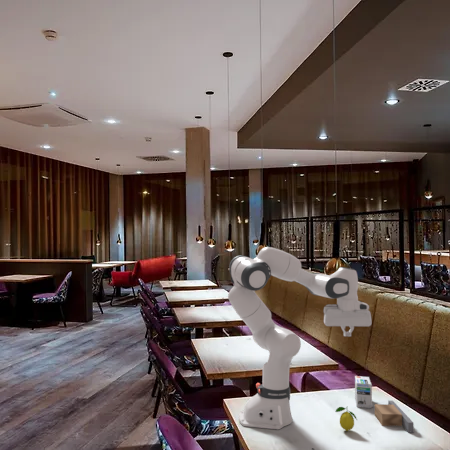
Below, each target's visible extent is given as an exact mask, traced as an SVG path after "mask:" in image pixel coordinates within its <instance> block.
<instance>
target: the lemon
mask: <svg viewBox="0 0 450 450" xmlns="http://www.w3.org/2000/svg"><path fill="white" fill-rule="evenodd" d="M345 410H346V411H345ZM343 411H344V412H343ZM339 412H342V413H341V414H340V418H339V425H340V427H341V428H342V429H343V430H345V432H349V431H351V430H352V429H353V428H354V426H355V419H356V421H358V419H357V416H356V414H355V413H353V411H350V410H347V407H343V406H339V407H337V408H336V409H335V413H339Z"/></svg>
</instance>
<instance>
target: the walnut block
mask: <svg viewBox="0 0 450 450" xmlns="http://www.w3.org/2000/svg"><path fill="white" fill-rule="evenodd" d="M374 417H375V418H376V420H377V421H378V422H379V423H380V425H381V426H382V427H403V426H402V414H401V413H400V412H399V410H398V409H397V408H396V407H395V406H394V405H388V404H387V403H386V404H379V403H377V404H374Z"/></svg>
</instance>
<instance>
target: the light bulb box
mask: <svg viewBox="0 0 450 450" xmlns="http://www.w3.org/2000/svg"><path fill="white" fill-rule="evenodd" d="M354 399H355V404H356V407H357V408H366V409H372V408H373V384H372V382H371V379H370V376H361V375H359V376H358V375H354Z"/></svg>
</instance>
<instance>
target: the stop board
mask: <svg viewBox="0 0 450 450" xmlns="http://www.w3.org/2000/svg"><path fill="white" fill-rule="evenodd" d="M387 405H394V406H395V407H396V408H397V409H398V410H399V412H400V413H401V414H402V426H401V427H402V428H404V429H405V431H406V432H407V433H408V434H413V433H414V421H412V419H411V418H410V417H409V416H408V415H407V414H406V413H405V411H403V410H402V409H401V408H400V406H398V405H397V403H396V402H395V401H394V400H387Z"/></svg>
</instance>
